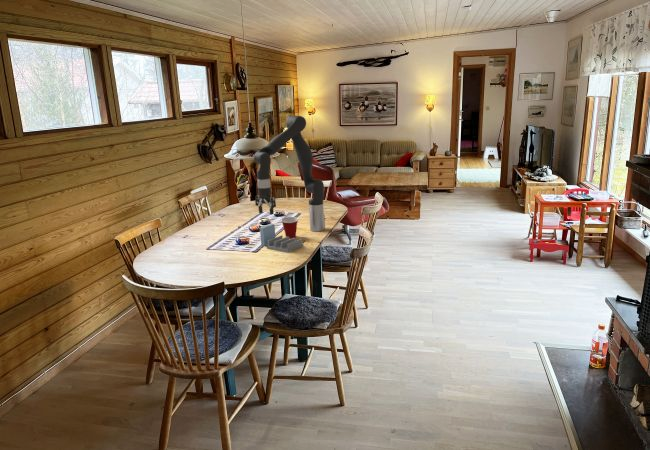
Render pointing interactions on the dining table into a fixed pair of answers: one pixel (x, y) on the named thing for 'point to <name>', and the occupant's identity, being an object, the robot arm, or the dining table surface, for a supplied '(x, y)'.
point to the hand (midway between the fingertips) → (266, 213)
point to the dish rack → (284, 244)
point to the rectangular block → (267, 233)
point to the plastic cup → (290, 226)
